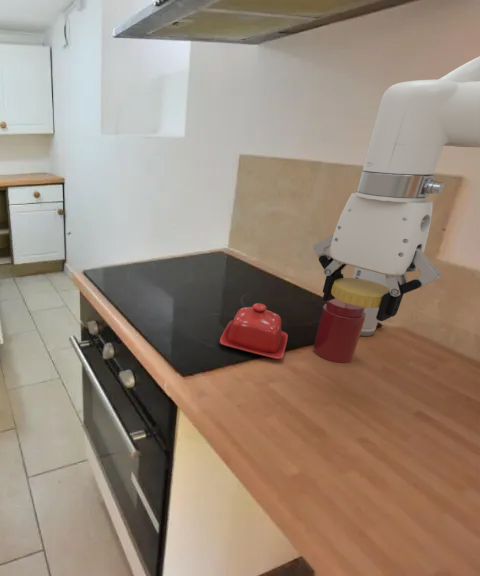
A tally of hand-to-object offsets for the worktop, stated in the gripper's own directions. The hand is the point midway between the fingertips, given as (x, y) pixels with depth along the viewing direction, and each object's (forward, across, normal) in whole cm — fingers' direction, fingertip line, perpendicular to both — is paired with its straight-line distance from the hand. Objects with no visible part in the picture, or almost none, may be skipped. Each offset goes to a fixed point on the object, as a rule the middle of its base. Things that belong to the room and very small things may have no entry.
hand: (355, 307), depth 57 cm
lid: (-3, 0, 0) cm, 3 cm away
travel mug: (+14, +8, -24) cm, 29 cm away
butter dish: (+15, +16, 0) cm, 22 cm away
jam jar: (+14, +6, -10) cm, 19 cm away
